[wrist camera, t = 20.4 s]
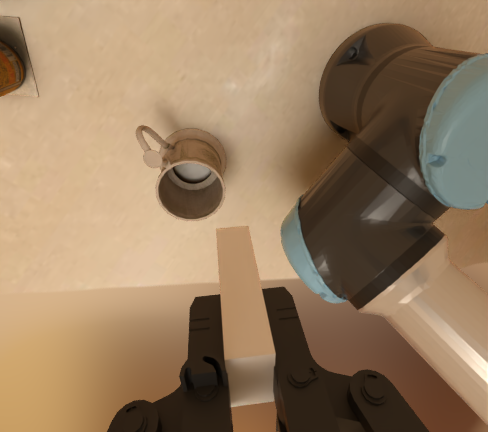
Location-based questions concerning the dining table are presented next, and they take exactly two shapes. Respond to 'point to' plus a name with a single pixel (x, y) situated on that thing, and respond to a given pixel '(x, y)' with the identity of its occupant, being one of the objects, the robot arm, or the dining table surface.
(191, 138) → the mug
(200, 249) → the dining table surface
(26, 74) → the condiment
